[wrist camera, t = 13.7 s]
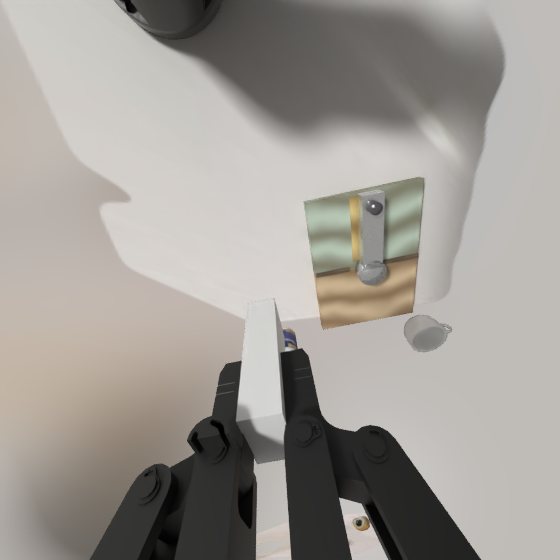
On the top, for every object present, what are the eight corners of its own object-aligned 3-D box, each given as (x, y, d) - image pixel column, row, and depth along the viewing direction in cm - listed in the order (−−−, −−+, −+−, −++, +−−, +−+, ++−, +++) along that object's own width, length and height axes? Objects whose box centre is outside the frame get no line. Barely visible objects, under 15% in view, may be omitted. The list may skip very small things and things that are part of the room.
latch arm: (380, 276, 48) (389, 285, 44) (355, 281, 48) (361, 290, 45) (382, 188, 40) (393, 192, 36) (352, 194, 40) (360, 198, 37)
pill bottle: (296, 327, 56) (303, 359, 47) (293, 344, 58) (298, 378, 50) (273, 325, 55) (275, 358, 47) (270, 343, 58) (272, 377, 49)
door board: (303, 201, 42) (305, 204, 40) (418, 176, 42) (426, 178, 40) (321, 325, 56) (323, 331, 54) (408, 308, 55) (414, 314, 53)
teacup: (398, 338, 59) (409, 355, 55) (399, 313, 56) (412, 329, 51) (439, 331, 59) (454, 347, 54) (443, 305, 55) (460, 320, 51)
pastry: (371, 520, 115) (374, 532, 111) (358, 524, 116) (361, 536, 113) (363, 514, 111) (366, 526, 107) (350, 519, 112) (352, 530, 109)
